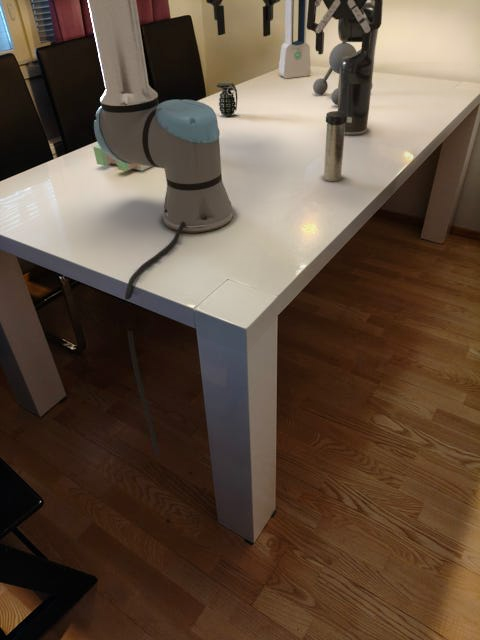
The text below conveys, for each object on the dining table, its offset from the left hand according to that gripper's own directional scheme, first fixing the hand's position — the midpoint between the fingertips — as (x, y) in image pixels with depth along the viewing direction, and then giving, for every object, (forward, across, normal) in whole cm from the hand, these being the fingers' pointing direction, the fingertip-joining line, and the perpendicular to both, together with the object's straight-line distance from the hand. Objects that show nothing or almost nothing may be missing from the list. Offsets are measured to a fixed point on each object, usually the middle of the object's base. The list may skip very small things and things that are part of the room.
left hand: (243, 35), depth 129 cm
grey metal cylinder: (+28, -33, +18) cm, 47 cm away
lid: (+13, -33, +18) cm, 39 cm away
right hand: (-1, -35, +24) cm, 42 cm away
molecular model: (+28, -11, -57) cm, 64 cm away
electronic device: (+28, +22, -86) cm, 93 cm away
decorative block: (+28, +22, +22) cm, 42 cm away
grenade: (+28, +19, -22) cm, 41 cm away
